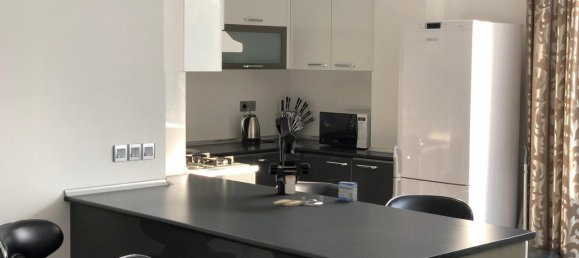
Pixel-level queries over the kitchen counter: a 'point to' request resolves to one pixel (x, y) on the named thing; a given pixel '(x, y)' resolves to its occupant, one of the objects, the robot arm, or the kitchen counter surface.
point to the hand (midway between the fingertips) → (290, 183)
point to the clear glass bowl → (312, 202)
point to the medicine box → (347, 191)
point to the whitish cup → (290, 184)
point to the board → (287, 202)
